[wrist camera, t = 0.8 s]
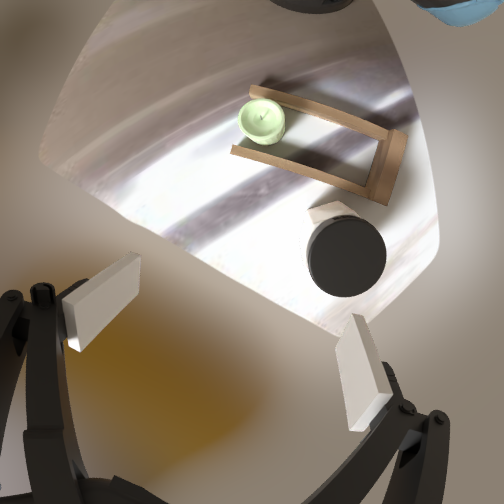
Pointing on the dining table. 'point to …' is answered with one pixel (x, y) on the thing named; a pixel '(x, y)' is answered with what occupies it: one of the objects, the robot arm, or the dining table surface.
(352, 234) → the jar
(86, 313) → the robot arm
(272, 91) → the channel
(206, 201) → the dining table surface
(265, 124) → the candle
